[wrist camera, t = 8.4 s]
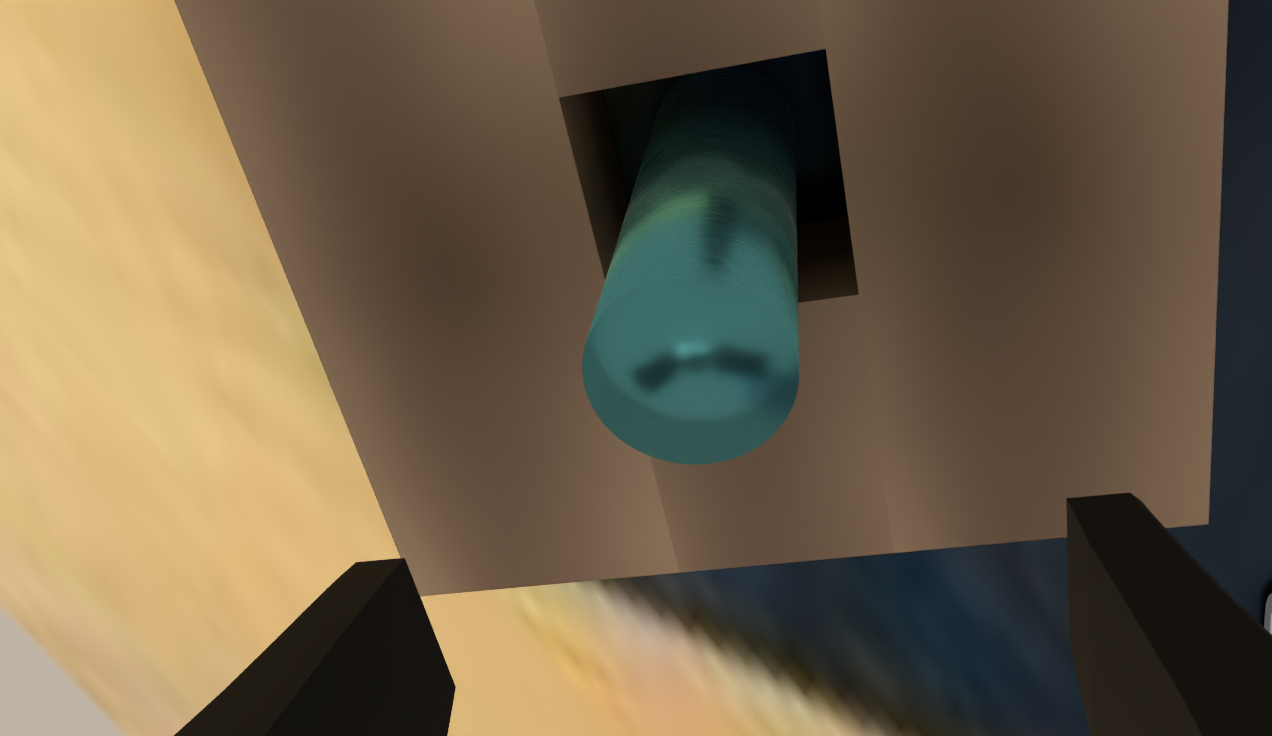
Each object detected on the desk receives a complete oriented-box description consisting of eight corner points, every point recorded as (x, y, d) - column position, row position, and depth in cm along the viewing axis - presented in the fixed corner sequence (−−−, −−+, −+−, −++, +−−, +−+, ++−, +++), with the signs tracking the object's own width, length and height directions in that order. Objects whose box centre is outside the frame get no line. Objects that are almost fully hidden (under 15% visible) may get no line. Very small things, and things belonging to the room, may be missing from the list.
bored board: (1167, -482, 15) (1248, -518, 12) (1158, 423, 21) (1208, 524, 19) (190, -227, 17) (89, -211, 15) (455, 500, 24) (416, 596, 22)
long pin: (790, 55, 19) (791, 269, 12) (800, 193, 20) (805, 459, 13) (645, 71, 19) (564, 286, 12) (663, 204, 20) (600, 468, 13)
